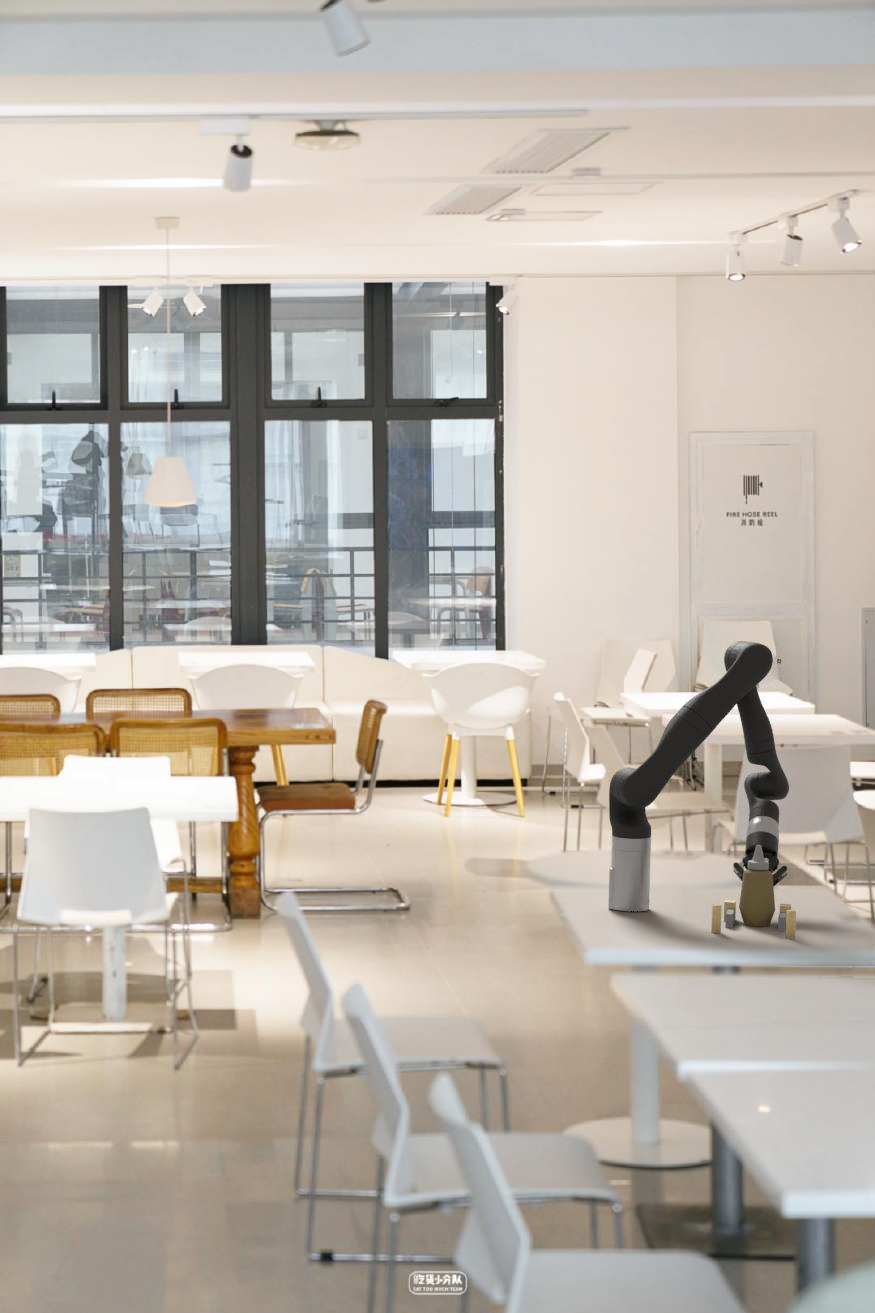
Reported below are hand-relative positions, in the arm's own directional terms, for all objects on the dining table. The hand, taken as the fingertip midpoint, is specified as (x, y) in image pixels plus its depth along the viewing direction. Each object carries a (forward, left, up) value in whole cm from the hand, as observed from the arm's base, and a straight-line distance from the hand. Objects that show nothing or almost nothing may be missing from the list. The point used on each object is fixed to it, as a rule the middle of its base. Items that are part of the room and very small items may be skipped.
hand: (758, 900), depth 350 cm
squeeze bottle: (0, -4, -5) cm, 6 cm away
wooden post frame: (0, -9, -5) cm, 10 cm away
